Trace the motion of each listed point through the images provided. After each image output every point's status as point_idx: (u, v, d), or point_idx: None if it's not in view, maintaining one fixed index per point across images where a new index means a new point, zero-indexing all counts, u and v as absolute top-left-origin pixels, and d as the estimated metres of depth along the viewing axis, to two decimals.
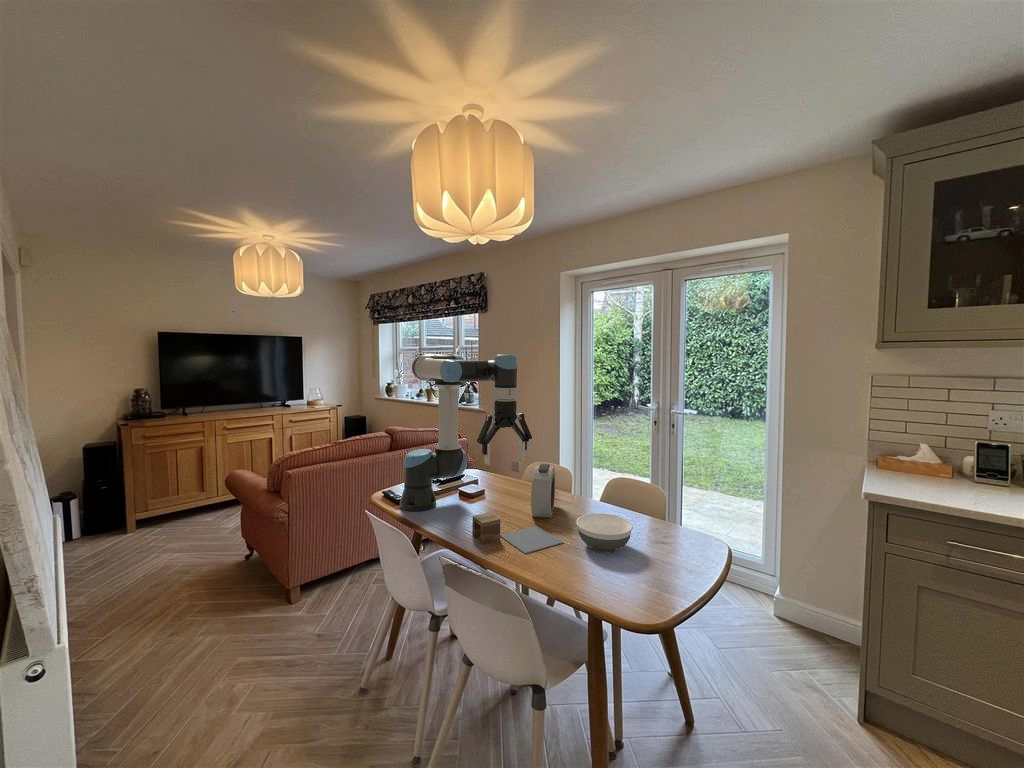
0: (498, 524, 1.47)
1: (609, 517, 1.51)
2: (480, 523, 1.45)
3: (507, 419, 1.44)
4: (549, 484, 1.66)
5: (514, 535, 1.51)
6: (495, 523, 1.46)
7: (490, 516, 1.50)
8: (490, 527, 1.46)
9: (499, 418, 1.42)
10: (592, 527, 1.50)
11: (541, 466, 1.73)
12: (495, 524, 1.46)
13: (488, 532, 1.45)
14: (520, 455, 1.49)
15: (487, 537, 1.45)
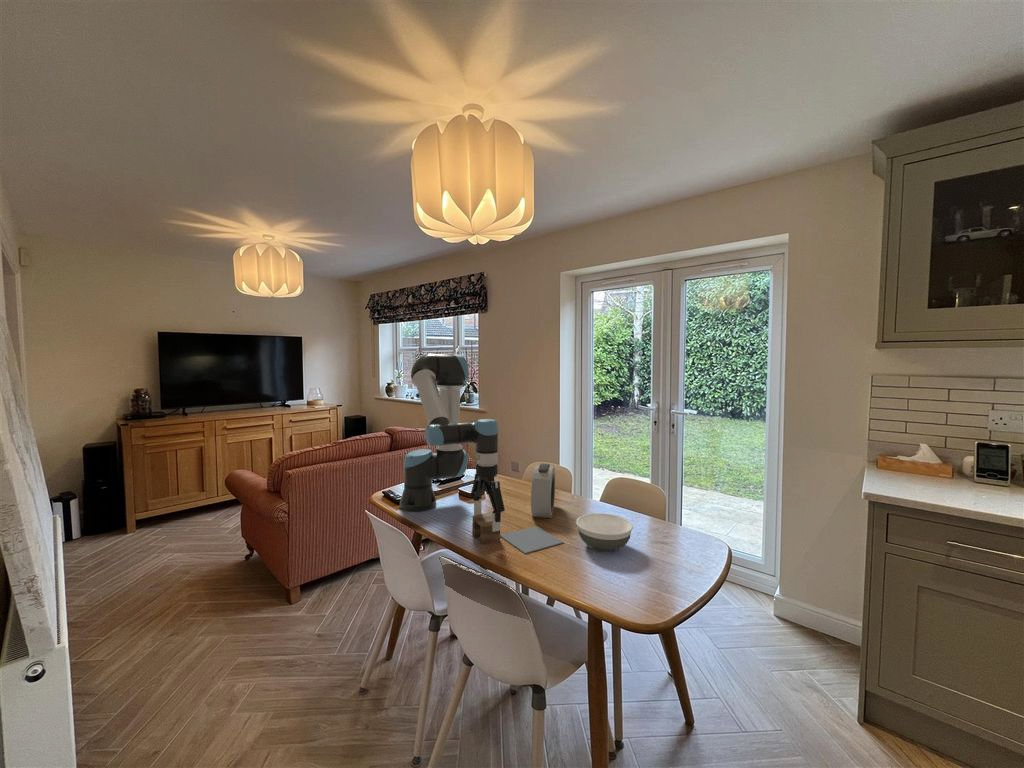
0: None
1: (609, 517, 1.51)
2: (480, 523, 1.45)
3: None
4: (549, 484, 1.66)
5: (514, 535, 1.51)
6: None
7: (490, 516, 1.50)
8: (490, 527, 1.46)
9: (480, 479, 1.50)
10: (592, 527, 1.50)
11: (541, 466, 1.73)
12: None
13: (488, 532, 1.45)
14: None
15: (487, 537, 1.45)
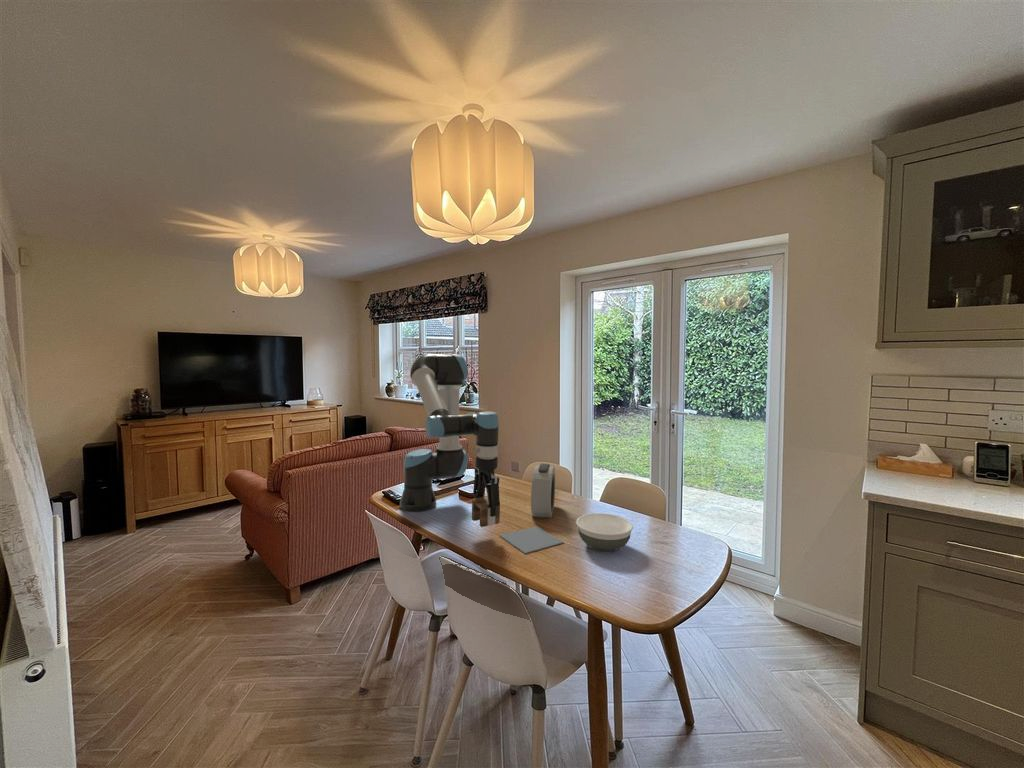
0: (498, 507, 1.47)
1: (609, 517, 1.51)
2: (480, 506, 1.45)
3: (484, 474, 1.47)
4: (549, 484, 1.66)
5: (514, 535, 1.51)
6: None
7: None
8: None
9: (480, 471, 1.50)
10: (592, 527, 1.50)
11: (541, 466, 1.73)
12: None
13: (487, 515, 1.45)
14: None
15: (486, 520, 1.45)
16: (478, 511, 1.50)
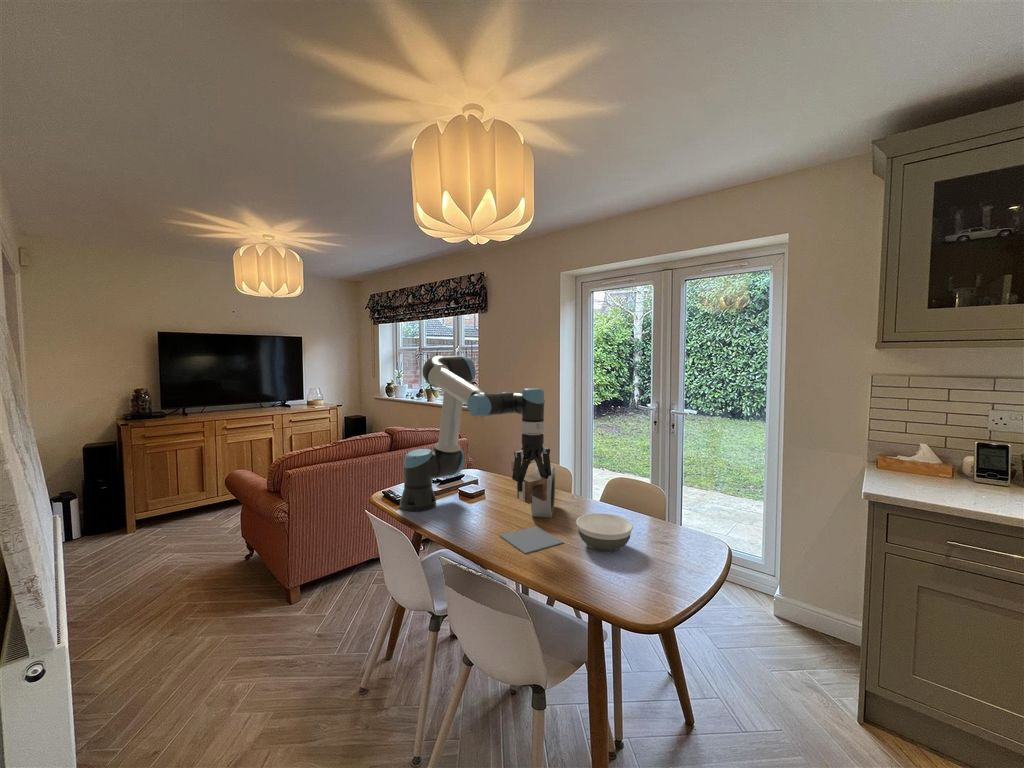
0: None
1: (609, 517, 1.51)
2: (543, 481, 1.45)
3: (534, 451, 1.46)
4: (549, 484, 1.66)
5: (514, 535, 1.51)
6: None
7: (528, 476, 1.49)
8: None
9: (527, 451, 1.44)
10: (592, 527, 1.50)
11: None
12: None
13: None
14: None
15: None
16: None
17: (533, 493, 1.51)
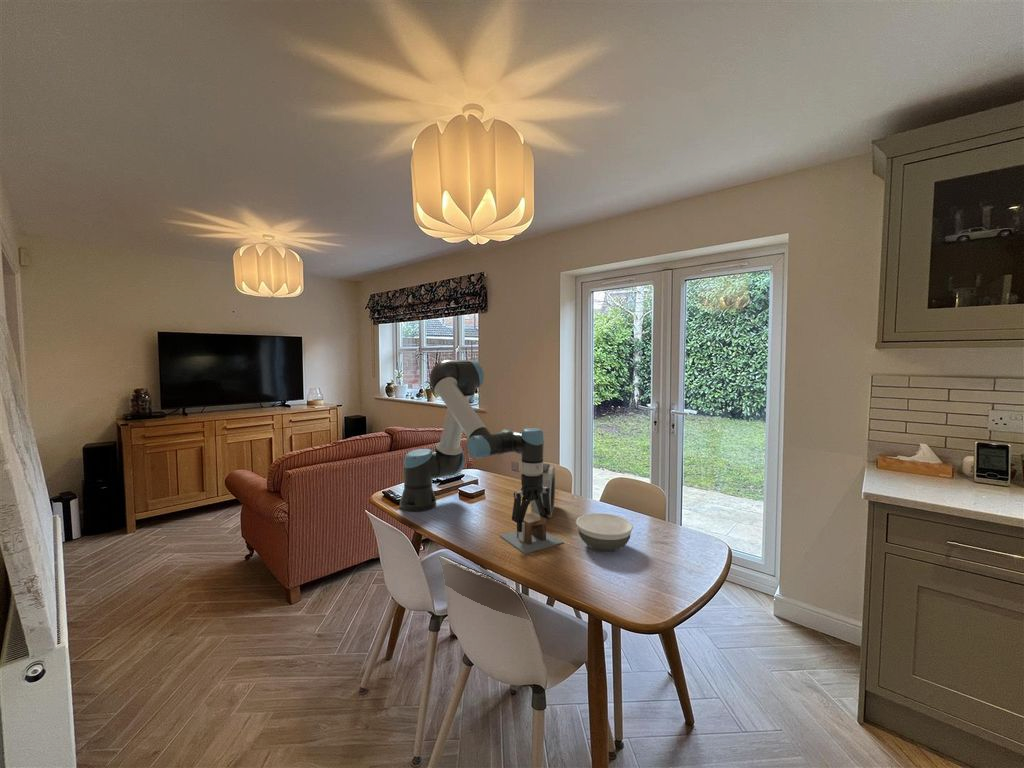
0: None
1: (609, 517, 1.51)
2: (542, 521, 1.46)
3: (534, 491, 1.47)
4: (549, 484, 1.66)
5: (514, 535, 1.51)
6: None
7: (527, 516, 1.49)
8: None
9: (527, 492, 1.45)
10: (592, 527, 1.50)
11: None
12: None
13: None
14: None
15: None
16: None
17: (533, 532, 1.51)
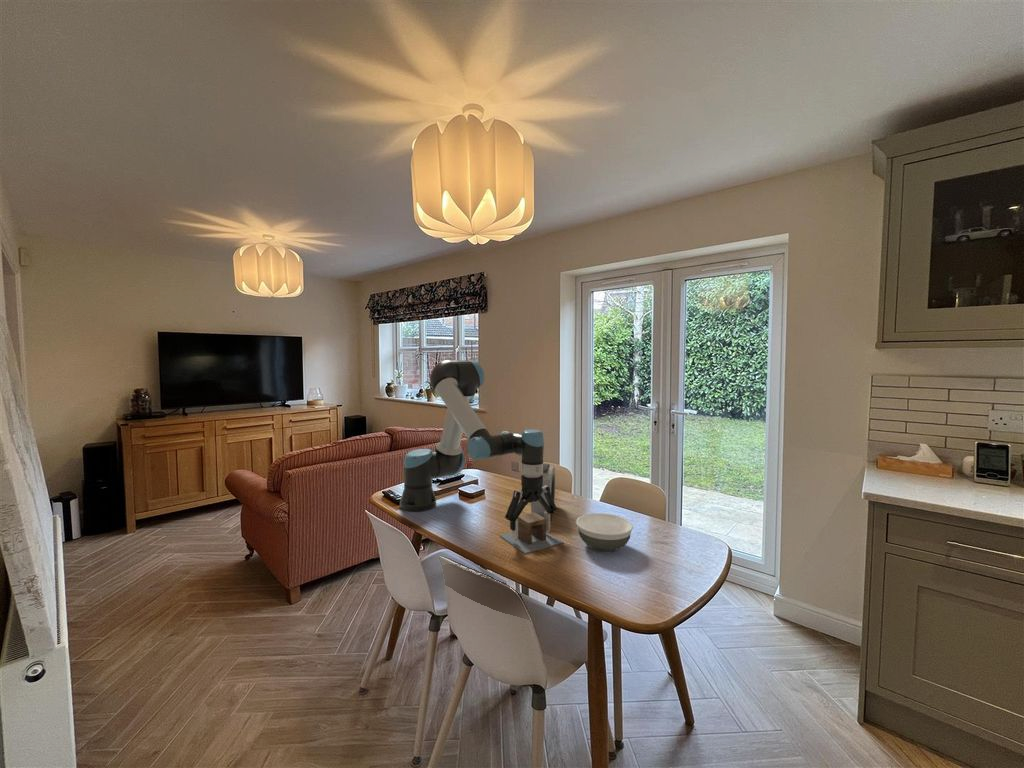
0: None
1: (609, 517, 1.51)
2: (542, 521, 1.46)
3: (534, 494, 1.47)
4: (549, 484, 1.66)
5: None
6: None
7: (527, 516, 1.49)
8: None
9: (526, 494, 1.45)
10: (592, 527, 1.50)
11: None
12: None
13: None
14: None
15: None
16: None
17: (533, 532, 1.51)
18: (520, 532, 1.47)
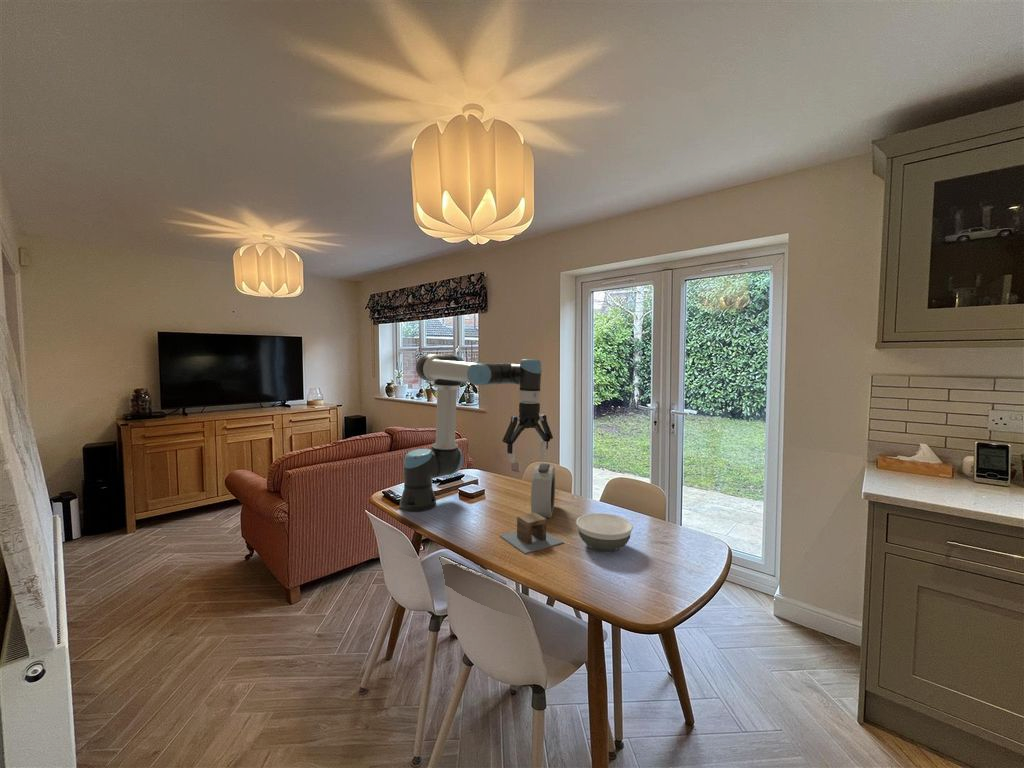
0: None
1: (609, 517, 1.51)
2: (542, 521, 1.46)
3: (531, 420, 1.52)
4: (549, 484, 1.66)
5: (514, 535, 1.51)
6: None
7: (527, 516, 1.49)
8: None
9: (524, 419, 1.51)
10: (592, 527, 1.50)
11: (541, 466, 1.73)
12: None
13: None
14: (541, 454, 1.58)
15: None
16: None
17: (533, 532, 1.51)
18: (520, 532, 1.47)
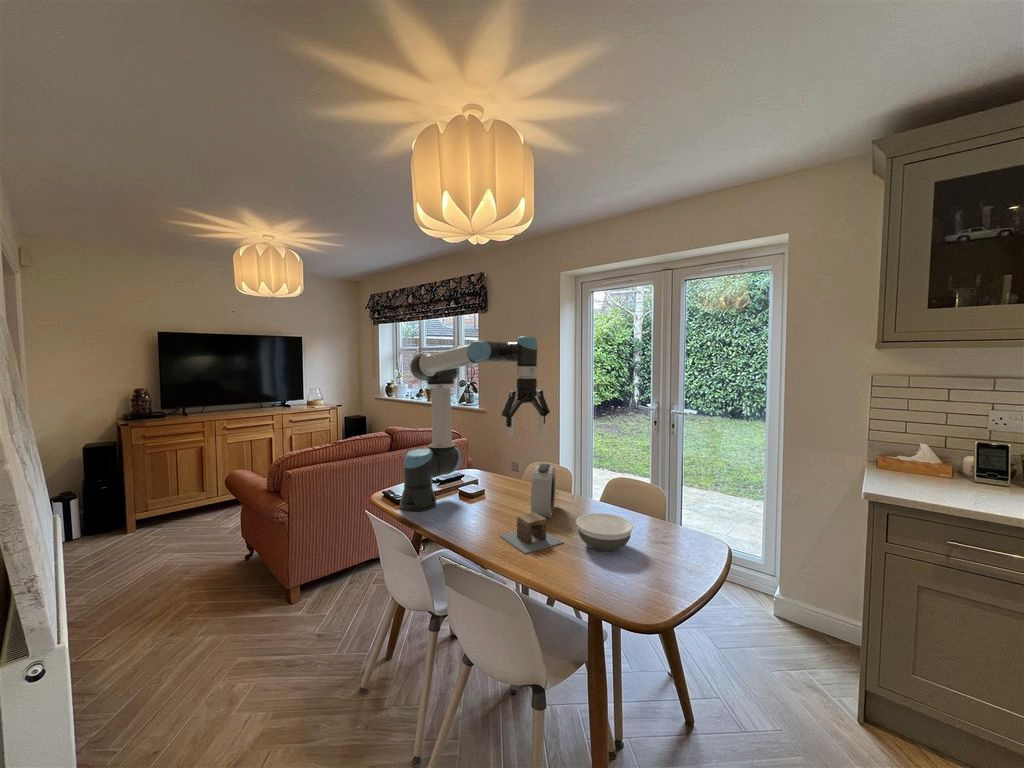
0: None
1: (609, 517, 1.51)
2: (542, 521, 1.46)
3: (528, 395, 1.59)
4: (549, 484, 1.66)
5: (514, 535, 1.51)
6: None
7: (527, 516, 1.49)
8: None
9: (521, 394, 1.57)
10: (592, 527, 1.50)
11: (541, 466, 1.73)
12: None
13: None
14: (539, 428, 1.64)
15: None
16: None
17: (533, 532, 1.51)
18: (520, 532, 1.47)
